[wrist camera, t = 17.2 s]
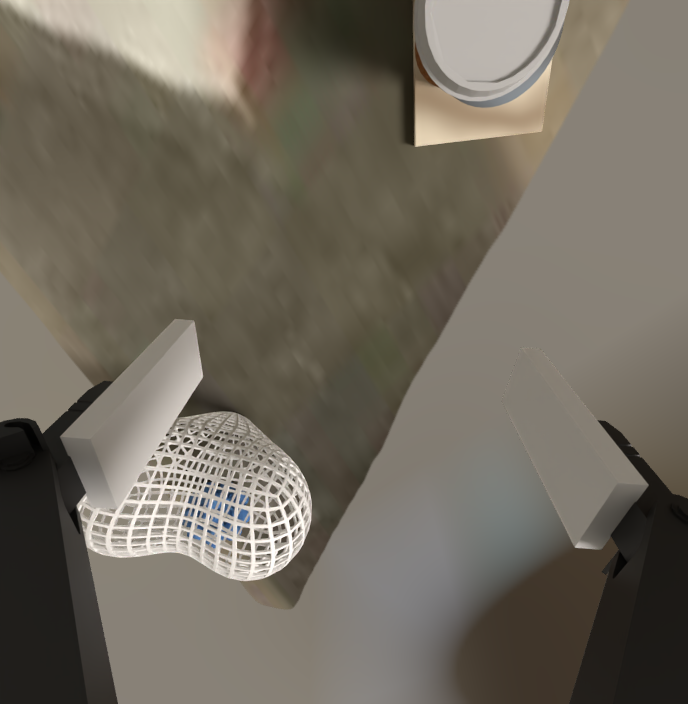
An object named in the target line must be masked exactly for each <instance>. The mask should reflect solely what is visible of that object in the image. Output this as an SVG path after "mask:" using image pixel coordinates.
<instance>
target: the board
mask: <svg viewBox="0 0 688 704" xmlns="http://www.w3.org/2000/svg"><path fill="white" fill-rule="evenodd" d="M414 4H415V0H413V74H414V146H424V145H432V144H441V143H449V142H458V141H466V140H475V139H483V138H492V137H500V136H508V135H517V134H525V133H534V132H542V127H543V120H544V113H545V106H546V99H547V92H548V85H549V78H550V71H551V64H552V57H553V55H554V53H555V51H556V49H557V46H558V44H559V40H560V37H561V34H562V29H563V24H564V22H563V24H562V27H561V29H560V32H559V35H558V37H557V39H556V41H555V43H554V45H553V46H552V48H551V50H550V52H549V54H548V55H547V57H546V58H545V60H544V61H543V62H542V64H541V65H540V66H539V68H538V69H537V70H536V71H535V72H534V73H533V74H532V75H531V76H530V77H529V78H528V79H527V80H526V81H525V82H524V83H522V84H521V85H520V86H519V87H517V88H516V89H514V90H512V91H511V92H509V93H507V94H505V95H503V96H501V97H498V98H494V99H491V100H486V101H466V100H462V99H458V98H456V97H454V96H452V95H450V94H448V93H446V92H444V91H443V90H442V89H441V88H440V87H436V86H434V85H432V84H430V83H429V82H428V81H427V80H426V79H425V78H424V77H423V75H422V74H421V72H420V70H419V68H418V66H417V62H416V57H415V33H414Z"/></svg>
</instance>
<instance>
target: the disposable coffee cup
mask: <svg viewBox="0 0 688 704" xmlns="http://www.w3.org/2000/svg"><path fill="white" fill-rule="evenodd" d="M568 5H569V0H415V4H414V33H415V57H416V62H417V66H418V68H419V70H420V72H421V74H422V75H423V77H424V78H425V79H426V80H427V81H428V82H429V83H430V84H432V85H434V86H436V87H440V88H441V89H442V90H443V91H444V92H446V93H448V94H450V95H452V96H454V97H456V98H458V99H462V100H466V101H486V100H491V99H494V98H498V97H501V96H503V95H505V94H507V93H509V92H511V91H512V90H514V89H516V88H517V87H519V86H520V85H521V84H522V83H524V82H525V81H526V80H527V79H528V78H529V77H530V76H531V75H532V74H533V73H534V72H535V71H536V70H537V69H538V68H539V66H540V65H541V64H542V62H543V61H544V60H545V58H546V57H547V55H548V54H549V52H550V50H551V48H552V46H553V45H554V43H555V41H556V39H557V37H558V35H559V32H560V29H561V27H562V24H563V22H564V18H565V15H566V12H567V8H568Z"/></svg>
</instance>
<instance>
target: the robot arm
mask: <svg viewBox="0 0 688 704" xmlns="http://www.w3.org/2000/svg"><path fill="white" fill-rule="evenodd" d="M202 378H203V374H202V367H201V361H200V354H199V348H198V342H197V335H196V329H195V323H194V321H193V320H181V319H175V320H174V321H173V322H172V323H171V324H170V325H169V326H168V327H167V328H166V329H165V330H164V331H163V332H162V333H161V334H160V335H159V336H158V337H157V338H156V339H155V340H154V341H153V342H152V343H151V344H150V345H149V346H148V347H147V348H146V349H145V350H144V351H143V352H142V353H141V354H140V355H139V356H138V357H137V358H136V359H135V361H134V362H133V363H132V364H131V365H130V366H129V367H128V368H127V369H126V370H125V371H124V372H123V373H122V374H121V375H120V376H119V377H118V378H117V379H116V380H115V381H114V382H110V381H103V382H102V383H100V384H98V385H96V386H94V387H93V388H91V389H89V390H88V391H87V392H86V393H85V394H84V395H83V396H82V397H80V399H79V400H78V401H77V403H74V404H73V405H72V406H71V407H70V408H69V409H68V412H65V413H64V414H63V415H62V416H61V417H60V418H59V419H58V420H57V421H55V423H53V424H52V425H51V426H50V427H49V428H48V429H47V430H46V431H45V432H44V433H43V434H42V433H41V431H40V428H39V426H38V425H37V423H36V422H35V421H33V420H30V419H26V418H25V419H24V418H21V419H20V418H17V419H12V420H7V421H3V422H0V704H118V702H117V697H116V692H115V687H114V682H113V677H112V672H111V667H110V662H109V657H108V652H107V647H106V642H105V637H104V632H103V627H102V622H101V617H100V612H99V607H98V603H97V597H96V592H95V587H94V582H93V577H92V572H91V567H90V562H89V557H88V552H87V547H86V542H85V537H84V532H83V527H82V522H81V517H80V512H79V510H78V508H77V504H78V503H79V502H80V500H81V499H82V498H83V496H84V495H85V494H86V496H87V499H88V501H89V503H90V505H91V507H95V508H107V509H118V508H119V507H120V505H121V504H122V502H123V501H124V499H125V498H126V496H127V494H128V493H129V491H130V490H131V488H132V487H133V485H134V484H135V482H136V480H137V479H138V477H139V476H140V474H141V473H142V471H143V469H144V468H145V466H146V465H147V463H148V462H149V460H150V459H151V457H152V455H153V454H154V452H155V451H156V449H157V448H158V446H159V445H160V443H161V441H162V440H163V438H164V437H165V435H166V434H167V432H168V431H169V429H170V427H171V426H172V424H173V423H174V421H175V420H176V418H177V417H178V415H179V413H180V412H181V410H182V409H183V407H184V406H185V404H186V403H187V401H188V399H189V398H190V396H191V395H192V393H193V392H194V390H195V389H196V387H197V385H198V384H199V382H200V381H201V379H202ZM502 403H503V405H504V407H505V409H506V411H507V413H508V415H509V417H510V419H511V421H512V423H513V425H514V427H515V429H516V431H517V433H518V435H519V437H520V439H521V441H522V443H523V445H524V447H525V449H526V451H527V453H528V455H529V457H530V459H531V461H532V463H533V465H534V467H535V469H536V471H537V473H538V475H539V477H540V479H541V481H542V483H543V485H544V487H545V489H546V491H547V493H548V495H549V497H550V499H551V501H552V503H553V505H554V507H555V509H556V511H557V513H558V515H559V517H560V519H561V521H562V523H563V525H564V527H565V529H566V531H567V533H568V535H569V537H570V539H571V541H572V543H573V545H574V547H576V548H588V549H600V550H601V549H602V548H603V547H604V545H605V544H606V543H607V541H608V540H609V539H610V537H612V538H613V540H614V542H615V544H616V545H617V547H618V549H619V550H618V551H617V553H616V554H615V555H614V557H613V558H612V559H611V560H610V562H609V563H608V564H607V566H606V567H605V568H604V569H603V571H602V572H603V573H604V574H607V573H608V572H609V573H608V576H607V579H606V583H605V587H604V589H603V593H602V596H601V599H600V603H599V606H598V609H597V613H596V616H595V620H594V623H593V626H592V630H591V633H590V636H589V639H588V643H587V646H586V649H585V653H584V656H583V659H582V663H581V666H580V670H579V673H578V676H577V680H576V683H575V686H574V689H573V693H572V696H571V699H570V703H569V704H688V499H687V498H685V497H682V496H680V495H675V494H672V493H671V491H670V490H669V489H668V488H667V487H666V485H665V484H664V483H663V482H662V481H661V480H660V478H659V477H658V476H657V475H656V474H655V472H654V471H653V470H652V469H651V468H650V466H649V465H648V464H647V463H646V462H645V460H644V459H643V458H640V455H639V453H638V452H637V451H636V450H635V449H634V448H633V447H631V444H630V443H629V442H628V440H627V439H626V438H625V437H624V436H623V434H622V433H621V432H620V431H618V430H617V429H616V428H614V427H613V426H612V425H610V424H609V423H608V422H606V421H599V420H597V419H596V418H595V417H594V416H593V415H592V413H591V412H590V411H589V409H588V408H587V407H586V406H585V404H584V403H583V402H582V401H581V399H580V398H579V397H578V396H577V394H576V393H575V392H574V390H573V389H572V388H571V387H570V385H569V384H568V383H567V382H566V380H565V379H564V378H563V377H562V376H561V374H560V373H559V372H558V370H557V369H556V368H555V367H554V365H553V364H552V363H551V362H550V360H549V359H548V358H547V356H546V355H545V354H544V353H543V351H542V350H541V349H538V348H525V347H521V349H520V352H519V354H518V357H517V360H516V363H515V365H514V368H513V371H512V373H511V376H510V379H509V382H508V384H507V387H506V390H505V393H504V395H503V398H502Z"/></svg>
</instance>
